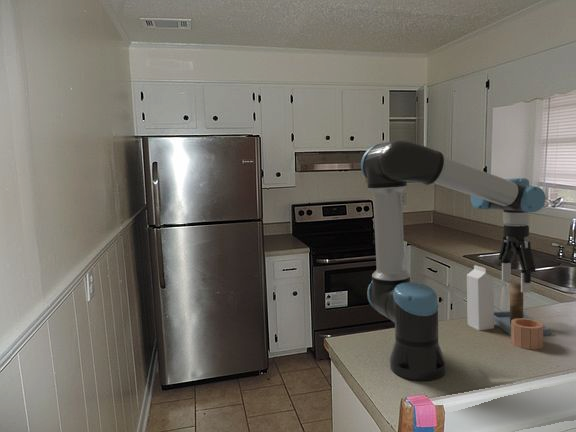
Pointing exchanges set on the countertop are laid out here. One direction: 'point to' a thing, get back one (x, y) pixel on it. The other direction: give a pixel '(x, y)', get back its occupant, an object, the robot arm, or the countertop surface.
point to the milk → (480, 299)
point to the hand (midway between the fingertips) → (515, 286)
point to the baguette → (516, 301)
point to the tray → (504, 321)
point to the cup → (527, 333)
